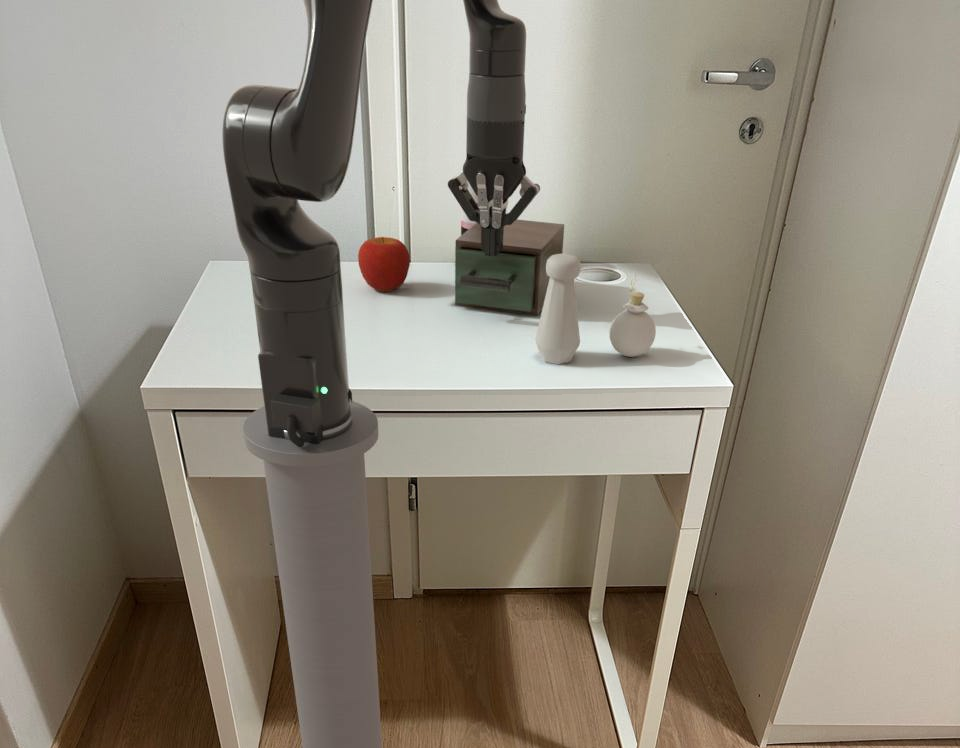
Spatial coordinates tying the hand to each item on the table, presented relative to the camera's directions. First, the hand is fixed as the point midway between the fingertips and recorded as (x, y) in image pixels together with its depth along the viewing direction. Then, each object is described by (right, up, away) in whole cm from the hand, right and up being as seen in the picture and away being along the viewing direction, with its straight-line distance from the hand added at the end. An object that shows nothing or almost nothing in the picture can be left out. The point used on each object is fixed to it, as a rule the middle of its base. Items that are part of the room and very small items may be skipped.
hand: (491, 254), depth 128 cm
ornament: (+18, -16, -5) cm, 25 cm away
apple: (-17, 0, +14) cm, 22 cm away
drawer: (+1, -3, +9) cm, 10 cm away
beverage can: (-2, +9, +26) cm, 27 cm away
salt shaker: (+8, -17, -7) cm, 20 cm away
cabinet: (+3, -1, +13) cm, 13 cm away
